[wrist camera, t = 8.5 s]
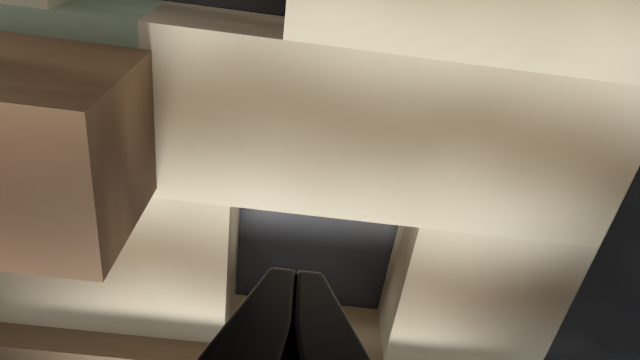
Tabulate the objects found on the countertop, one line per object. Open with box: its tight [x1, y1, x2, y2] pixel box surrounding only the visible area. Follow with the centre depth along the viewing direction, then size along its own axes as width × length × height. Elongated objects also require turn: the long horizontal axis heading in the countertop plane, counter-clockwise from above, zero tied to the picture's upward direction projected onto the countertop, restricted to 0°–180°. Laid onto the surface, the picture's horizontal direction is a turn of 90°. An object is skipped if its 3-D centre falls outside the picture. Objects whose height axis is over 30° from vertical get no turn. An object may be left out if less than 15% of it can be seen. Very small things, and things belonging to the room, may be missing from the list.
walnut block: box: [0, 31, 157, 282], centre depth 12 cm, size 4×4×4 cm
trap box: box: [0, 0, 640, 360], centre depth 14 cm, size 18×20×4 cm
